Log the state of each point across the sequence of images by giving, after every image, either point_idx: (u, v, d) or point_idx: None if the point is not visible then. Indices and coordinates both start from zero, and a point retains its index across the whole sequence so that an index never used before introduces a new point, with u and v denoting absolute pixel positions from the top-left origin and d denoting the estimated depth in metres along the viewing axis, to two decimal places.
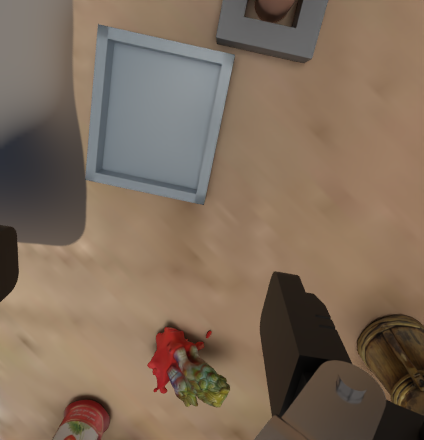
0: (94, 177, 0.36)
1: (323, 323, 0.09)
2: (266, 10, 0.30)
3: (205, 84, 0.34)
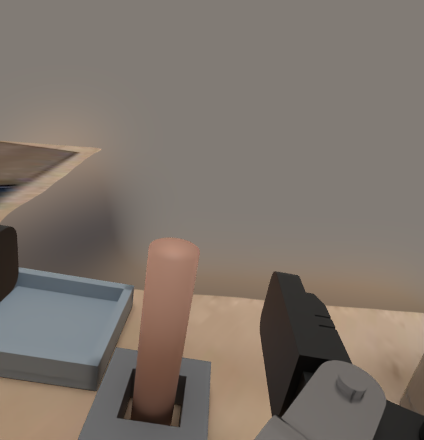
0: None
1: (323, 323, 0.09)
2: None
3: None
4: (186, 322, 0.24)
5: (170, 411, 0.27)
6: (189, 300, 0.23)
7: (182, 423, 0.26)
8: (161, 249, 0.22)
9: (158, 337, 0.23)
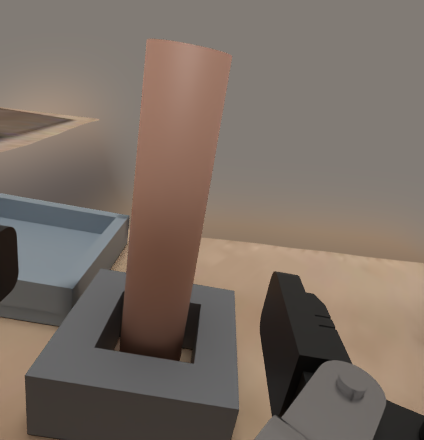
0: None
1: (323, 323, 0.09)
2: None
3: None
4: (206, 187, 0.15)
5: (178, 345, 0.18)
6: (213, 142, 0.14)
7: (197, 359, 0.16)
8: None
9: (161, 203, 0.14)
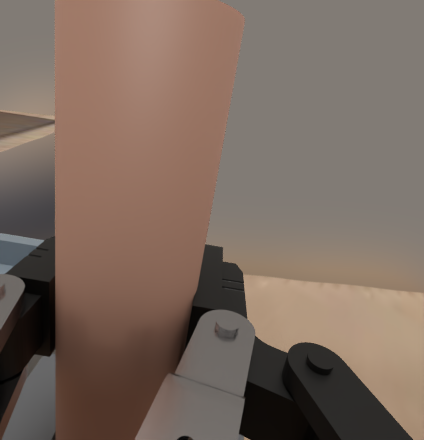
0: None
1: (234, 286, 0.09)
2: None
3: None
4: (194, 278, 0.08)
5: None
6: (205, 199, 0.07)
7: None
8: None
9: (100, 321, 0.07)
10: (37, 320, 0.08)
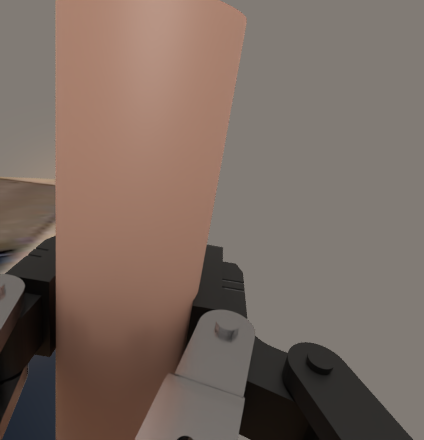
0: None
1: (234, 286, 0.09)
2: None
3: None
4: (195, 280, 0.08)
5: None
6: (207, 200, 0.07)
7: None
8: None
9: (101, 324, 0.07)
10: (37, 320, 0.08)
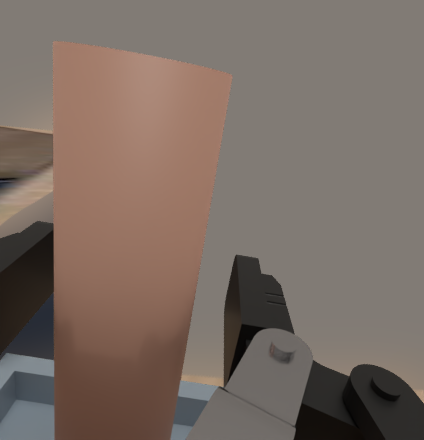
0: (4, 368, 0.17)
1: (275, 300, 0.09)
2: None
3: None
4: (187, 313, 0.08)
5: None
6: (196, 241, 0.07)
7: None
8: None
9: (96, 359, 0.07)
10: None
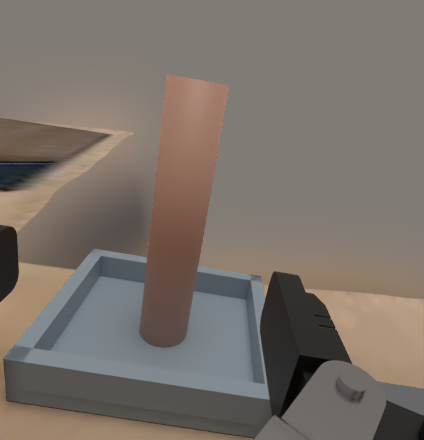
0: (94, 254, 0.29)
1: (323, 323, 0.09)
2: None
3: None
4: (210, 181, 0.20)
5: (188, 306, 0.23)
6: (215, 148, 0.19)
7: None
8: None
9: (177, 193, 0.19)
10: None
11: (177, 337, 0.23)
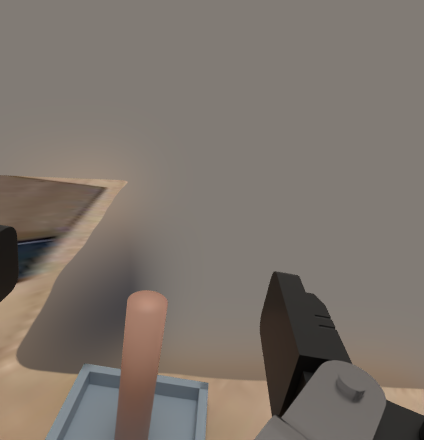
0: (84, 370, 0.39)
1: (323, 323, 0.09)
2: None
3: None
4: (158, 358, 0.30)
5: (146, 427, 0.33)
6: (159, 341, 0.29)
7: None
8: (137, 303, 0.28)
9: (134, 370, 0.29)
10: None
11: None
